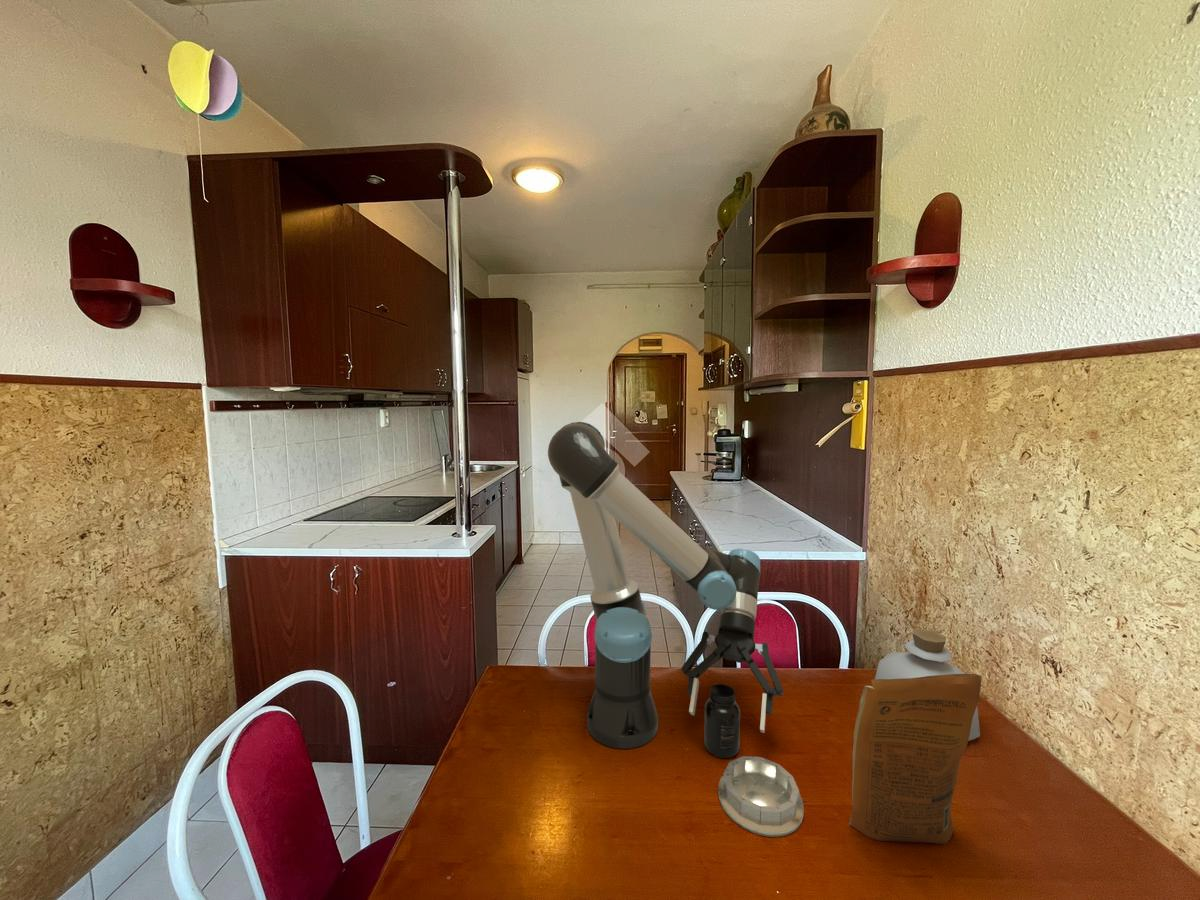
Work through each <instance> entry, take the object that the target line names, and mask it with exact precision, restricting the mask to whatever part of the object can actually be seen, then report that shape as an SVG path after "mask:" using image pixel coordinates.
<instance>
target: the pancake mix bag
mask: <svg viewBox="0 0 1200 900" xmlns="http://www.w3.org/2000/svg"><path fill="white" fill-rule="evenodd" d="M982 676H983V675H980V674H978V673H966V674H946V675H934V676H925V677H918V678H900V679H875V678H873V679H871V685H864V686H863V690H862V693H861V695H860V696H861V697H860V700H859V705H858V706H859V707H858V712H857V715H856V719H855V725H854V728H853V729H854V731H853V746H852V783H851V802H852V803H851V804H852V805H851V806H852V811H851V814H850V817H849V818H850V819H849V823H848V825H849V826H851V827H852V828H854V829H855V830H857V831H858V832H860V833H861V834H863V835H864V836H866V837H867V838H869V839H870V838H871V839H873V840H876V841H879V842H897V843H898V842H902V843H927V844H937V845H946V844H947V843H948V842H950V840H951V839H952V835H953V831H954V824H953V823H954V822H953V817H952V809H951V808H952V804H953V803H952V800H953V797H954V793H955V789H956V786H957V784H958V778H959V769H960V761H961V759H962V757H963V755H964V752H965V750H966V748H967V747H968V743H969V741H968V740H969V735H970V730H971V724H972V719H973V715H974V713H975V710H976V707H977V708H978V703H979V699H980V693H981V689H982V679H983V677H982Z"/></svg>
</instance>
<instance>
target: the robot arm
mask: <svg viewBox="0 0 1200 900" xmlns="http://www.w3.org/2000/svg"><path fill="white" fill-rule="evenodd" d="M605 446H606V443H605V439H604V436H603V435H602V433H601V431H599V429H598V428H596V426H594V425H592V424H590V423H588V422H586V421H576V422H570V423H567V424H566V425H564V426H562V427H561V428H560V429H559V430H558V431H556V432H555V433H554V435H553V436H552V437H551V439H550V441H549V444H548V447H547V457H548V460H549V464H550V465H551V467H552V469H553V471H554V472H555V473H556V474H557V475H558V477H559V480H560V485H561V487H562V488H563V489H565V490H566V491H568V492H569V493H570V497H571V500H572V506H573V508H574V512H575V516H576V521H577V524H578V528H579V532H580V536H581V540H582V544H583V548H584V552H585V556H586V559H587V564H588V567H589V571H590V576H591V579H592V584H593V587H594V588H593V590H592V592H591V593H590V596H589V597H590V602H591V605H592V609H593V613H594V617H595V627H594V633H593V635H594V637H593V640H594V643H595V644H594V646H595V647H594V649H595V650H594V658H595V659H594V661H595V662H594V673H595V675H594V676H595V677H594V683H595V684H594V691H593V694H592V697H591V700H590V703H589V706H588V708H587V713H586V727H587V731H588V733H589V734H590V735H591V737H592V738H593V739H595V741H597V742H598V743H600V744H602V745H603V746H607V747H610V748H615V749H623V750H625V749H627V750H629V749H634V748H638V747H640V746H641V747H642V746H644V745H645V744H647V743H649V742H650V741H651V740H653V739H654V738H655V736H656V735H657V732H658V728H659V714H658V711H657V709H656V705H655V701H654V698H653V695H652V691H651V657H652V655H651V654H652V653H651V652H652V651H651V650H652V649H651V648H652V647H651V645H652V639H653V633H652V628H651V627H652V626H651V624H650V620H649V619H648V617H647V610H646V607H645V603H644V602H643V599H642V597H641V592H640V588H639V585H638V583H637V582H636V581H634V580H632V579H631V578H630V574H629V570H628V567H627V566H628V565H627V563H626V557H625V554H624V551H623V546H622V543H621V542H622V541H621V538H620V534H619V530H618V526H617V522H619V523H620V524H621V525H622V526H623V527H625V529H627V531H628V532H630V533H631V534H632V535H633V536H634V537H635V538H636V539H638V540H639V541H640V542H641V543H642V544H643V545H644V546H645V547H646V548H647V549H649V550H650V551H651V552H652V554H654V555H655V556H656V557H657V558H658V559H660V561H661V562H663V563H664V564H665V565H666V566H667V567H668V568H669V569H670V570H671V571H673V572H674V573H675V574H676V575H678V577H680V579H681V580H683V582H685V584H686V585H687V586H688V587H689V588H690V589H692V590H693V591H695V593H696V594H697V597H698V598H699V601H701V602H702V603H703V605H704V606H705V607H707V608H709V609H711V610H715V611H718V610H719V611H720V613H721V614H720V616H719V623H718V631H717V634H716V635H712V634H709V633H708V632H707V631H704V632H702V635H701V638H700V642H699V643H698V644H697V645H696V647H695V648H694V650H693V651H692V652H691V654H690V655H689V657H688V658H687V660H685V662H684V663H683V665H681V668H680V669H681V672H682V674H683V675H684V676H687V677H688V681H687V689H686V693H687V695H688V696H690V703H689V709H688V713H689V714H690V715H691V716H695V713H696V707H697V702H698V701H697V700H698V694H699V687H700V681H699V677H700V676H702V674H704V673H705V672H706V671H708V670H709V669H710V668H711V667H712V666H713V665H714V664H715V663H717V662H718V661H720V660H721V659H722V658H724V659H725V661H729V662H730V661H734V662H735V663H739V664H741V663H743V662H745V664H746V665H747V667H748V668H749V670H750V671H751V672H752V674H753V676H754V677H755V678H756V680H757V682H758V683H759V684H760V686H761V688H762V689H763V691H764V692H762V698H761V699H762V700H761V709H760V710H761V711H760V712H761V713H760V725H759V730H760V731H759V732H760V733H763V734H765V730H766V729H765V728H766V720H767V719H766V717H767V715H772V713H773V706H774V704H773V703H774V698H775V697H782V696H783V695H784V689H783V686H782V683H781V681H780V678H779V676H778V674H777V671H776V668H775V667H774V664H773V661H772V659H771V657H770V651H769V650H770V649H769V644H768V643H767V642H763V643H762V644H761V643H755V632H756V631H755V630H756V621H755V620H756V619H757V609H758V594H759V585H760V578H761V559H760V557H759V555H758V554H757V553H756V552H755V551H752V550H751V549H750V550H749V549H743V548H734V549H732V550H730V551H729V552H728V554H727V553H725V552H722V551H719V550H717V549H714V548H710V547H708V546H706V545H703V544H700V543H699V542H696V541H694V539H693V538H692V537H691V536H689V535H688V534H687V533H686V532H685V531H684V530H683V529H682V528H681V527H680V526H678V525H677V523H675V522H674V521H673V520H672V519H671V518H670V517H669V516H668V515H666V514H665V512H663V511H662V510H661V509H660V508H659V507H658V506H657V505H656V504H655V503H654V502H653V501H652V500H650V498H648V497H647V496H646V495H645V494H644V493H643V492H642V491H641V490H640V489H639V488H638V487H636V486H635V485H634V484H633V483H632V482H631V481H630V480H629V479H628V478H627V477H626V476H625V475H623V474H622V472H620V464H619V463H618V462H617V461H616V460H614V458H612V456H611V455H610V454H609V453H608V451H607V450H606V449H605ZM616 520H617V521H616ZM713 643H714V644H715V645H716V648H715V649H713V651H712V652H711V653H710V654H709V655H708V656H707V657H706V658H705V659H703V660H702V661H701V662H699V664H697V662H698V661H699V659H700V658H701V656H703V653H704V652H705V651H706V649H707V648H708V646H711V645H712V644H713ZM755 651H757V652H758V654H759V656H761V657H762V659H763V662H764V664H765V666H766V667H765V668H766V670H767V672H768V675H769V677H770V679H771V682H772V685H773V687H771V685H770V684H769V682H768V680H767V679H766V677H765V676H764V674H763V673H762V671H761V670H760V668H759V667H758V665H757V664H756V662H755V660H754V658H753V657H752V656H751V655H752V654H754V653H755ZM696 664H697V665H696ZM695 665H696V666H695Z"/></svg>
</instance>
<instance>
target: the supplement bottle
mask: <svg viewBox="0 0 1200 900" xmlns="http://www.w3.org/2000/svg"><path fill="white" fill-rule="evenodd" d="M740 728H741V708H740V706H739V705H738V703H737V702H736V692H735V689H734V688H733V687H731V685H728V684H724V683H716V684H713V685H711V687H710V691H709V697H708V699H707V700H706V701H705V704H704V732H703V733H704V734H703V735H704V738H703V740H704V741H703V742H704V747H705V748H706V750H707V751H708V752H709V754H711V755H713V756H714V757H717V758H721V759H729V758H733V757H734V756H736V755H737V754H738V753H739V751H740V736H741V733H740V731H741V729H740Z"/></svg>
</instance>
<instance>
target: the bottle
mask: <svg viewBox="0 0 1200 900" xmlns="http://www.w3.org/2000/svg"><path fill="white" fill-rule="evenodd" d="M946 642H947V636H946V635H944V634H942V633H940V632H938V631H936V630H934V629H928V628H927V629H926V628H925V629H924V628H913V631H912V639H911V640H909V641H908V642H907V643H905V644H904V647H905V648H906V649H907V652H906V651H905V652H901V651H900V652H897V651H896V652H889V653H887V655H885V656H884V657H883V658H881V659H880V660H879V662H878V666H877V669H876V673H875V676H874V679H900V678H918V677H925V676H934V675H946V674H967V673H966V672H964V671H963V670H961V669H959V668H958V667H957V666H955V665H953V664H952V663H950V662H949V661H951V660H952V659H953V658H952V653H951V652H950V650H949V649H948V648H947V647H945V645H946ZM978 708H979V707H978V706H977V707H976V710H975V713H974V715H973V719H972V724H971V730H970V735H969V740H968V742H971V741H973V740H975V739H977V738H979V737H981V731H980V722H979V721H980V720H979V711H978Z"/></svg>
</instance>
